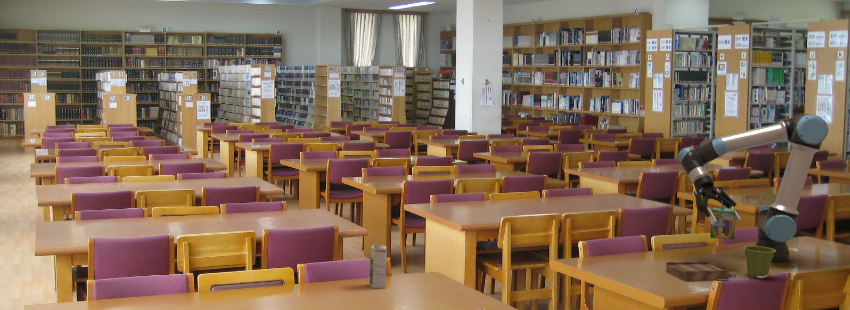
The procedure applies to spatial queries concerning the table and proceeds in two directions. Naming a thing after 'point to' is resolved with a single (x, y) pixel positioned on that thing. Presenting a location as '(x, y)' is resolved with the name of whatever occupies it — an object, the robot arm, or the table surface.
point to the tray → (696, 271)
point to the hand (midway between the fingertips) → (726, 222)
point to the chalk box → (723, 223)
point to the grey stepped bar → (732, 274)
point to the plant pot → (758, 260)
